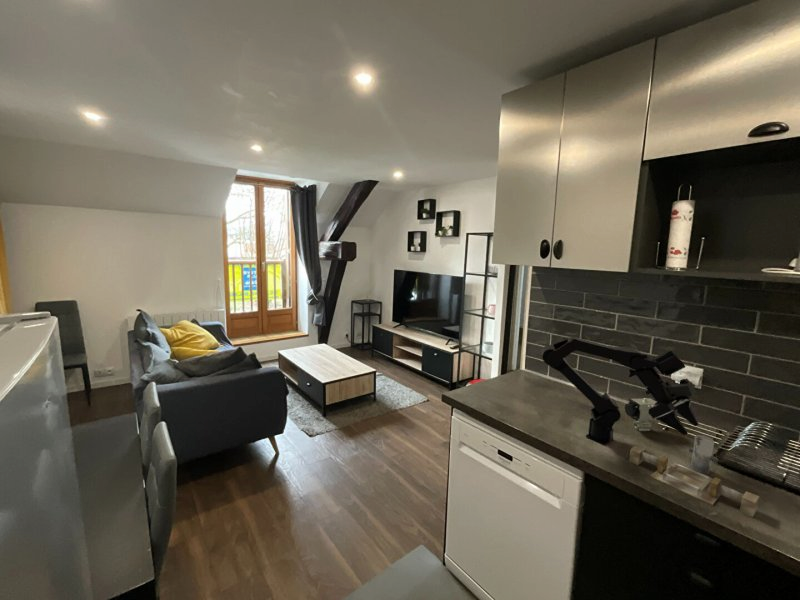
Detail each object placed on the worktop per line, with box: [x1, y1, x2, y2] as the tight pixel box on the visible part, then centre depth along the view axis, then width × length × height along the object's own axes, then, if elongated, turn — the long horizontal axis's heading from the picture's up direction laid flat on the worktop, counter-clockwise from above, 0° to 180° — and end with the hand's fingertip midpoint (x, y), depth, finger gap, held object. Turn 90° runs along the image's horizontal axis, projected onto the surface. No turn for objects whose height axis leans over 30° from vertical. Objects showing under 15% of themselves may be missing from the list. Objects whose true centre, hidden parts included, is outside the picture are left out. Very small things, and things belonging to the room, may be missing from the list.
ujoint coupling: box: [688, 434, 719, 476], centre depth 106 cm, size 7×4×10 cm
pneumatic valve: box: [624, 397, 659, 432], centre depth 129 cm, size 6×12×12 cm, turn 94°
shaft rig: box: [628, 445, 760, 518], centre depth 100 cm, size 28×10×4 cm, turn 35°
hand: (691, 429), depth 108 cm, fingers open, 9 cm apart
